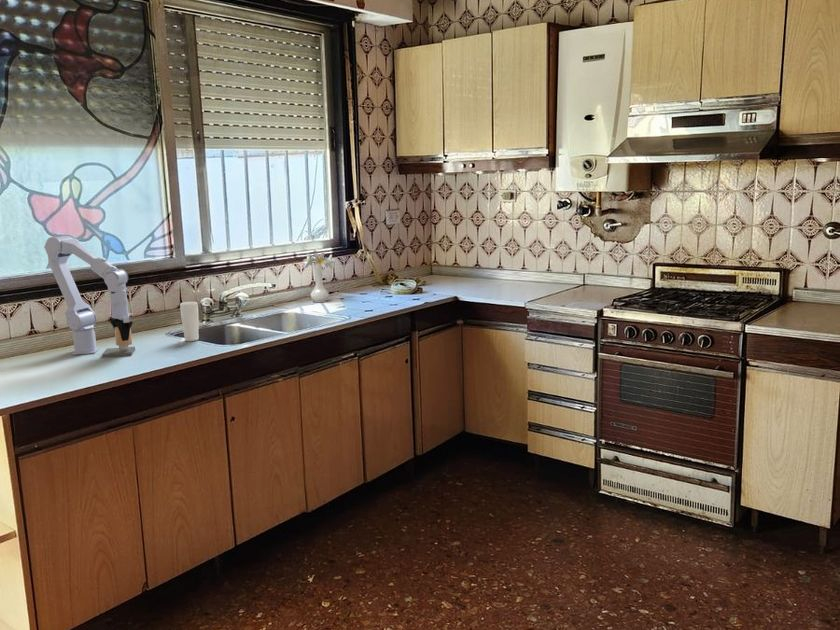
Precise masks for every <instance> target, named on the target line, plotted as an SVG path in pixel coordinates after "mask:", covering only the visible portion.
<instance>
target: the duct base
mask: <svg viewBox="0 0 840 630" xmlns="http://www.w3.org/2000/svg"><path fill="white" fill-rule="evenodd" d="M135 351H136V346H129V345H125V346H118V347H111V348H110V347H109V348H106V349H105V350H104V351H103V352H102V354H101V357H107V358H118V357H117V356H120V357H130V356H132V355H134V352H135Z"/></svg>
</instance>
